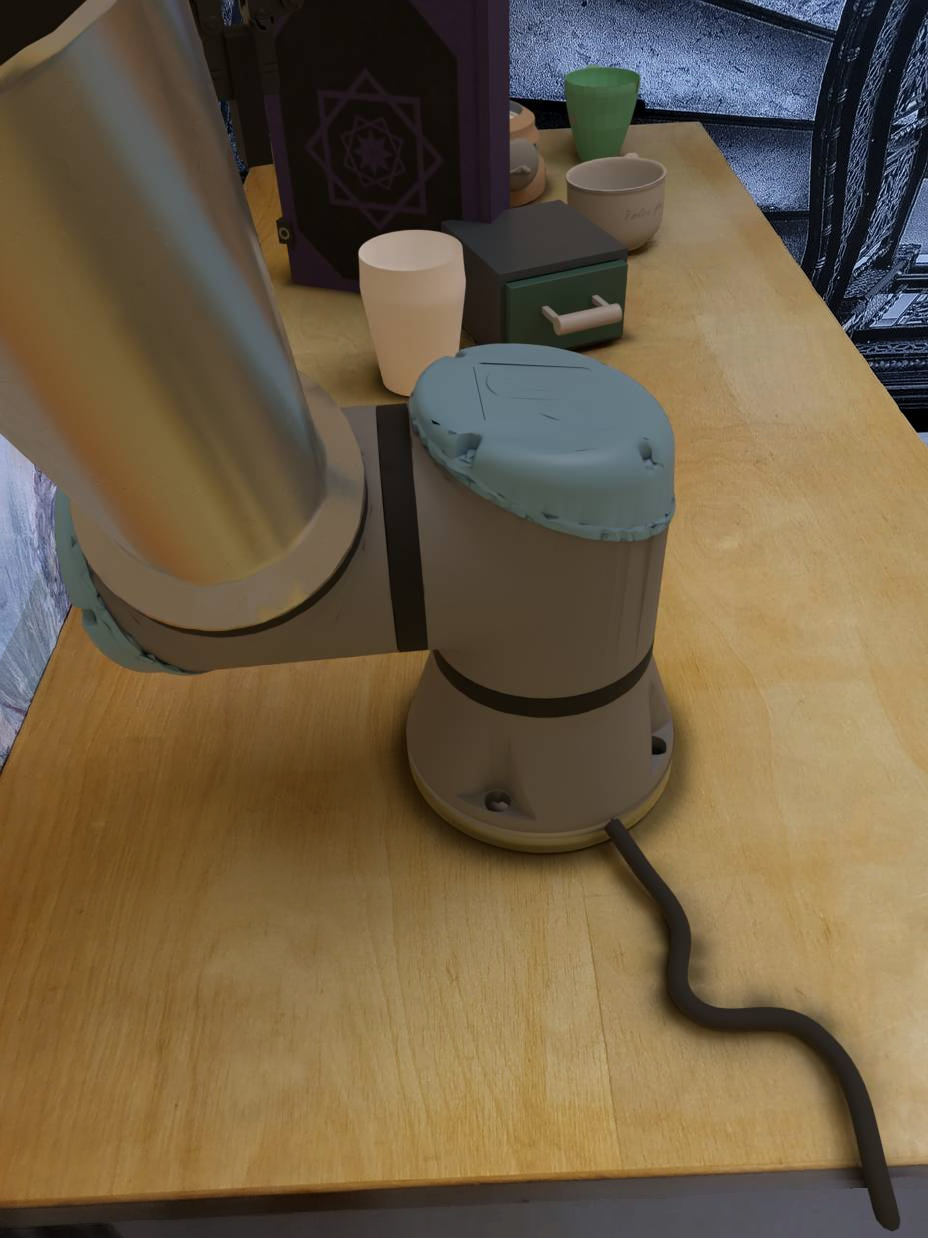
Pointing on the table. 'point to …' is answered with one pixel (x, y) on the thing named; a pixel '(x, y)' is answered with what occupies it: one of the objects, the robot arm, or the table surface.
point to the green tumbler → (600, 108)
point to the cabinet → (523, 258)
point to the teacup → (620, 196)
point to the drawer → (567, 306)
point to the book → (386, 125)
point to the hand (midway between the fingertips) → (255, 158)
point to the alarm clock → (524, 157)
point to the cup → (412, 301)
